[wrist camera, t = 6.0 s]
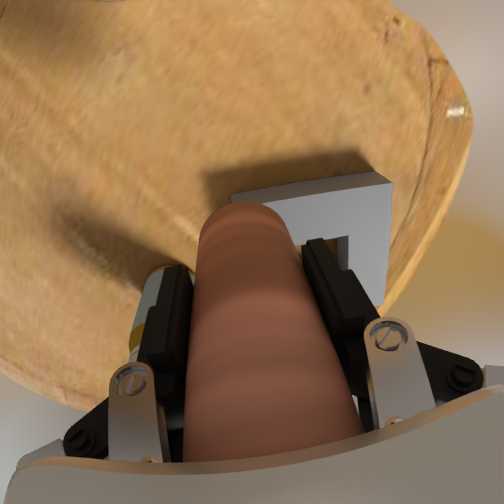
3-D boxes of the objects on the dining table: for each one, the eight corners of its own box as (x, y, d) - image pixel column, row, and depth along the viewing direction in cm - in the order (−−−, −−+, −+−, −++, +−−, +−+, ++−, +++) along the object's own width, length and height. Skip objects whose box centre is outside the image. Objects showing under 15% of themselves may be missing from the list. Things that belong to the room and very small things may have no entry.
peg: (188, 211, 13) (145, 561, 2) (283, 193, 12) (423, 524, 2) (210, 286, 15) (216, 561, 4) (292, 271, 15) (373, 537, 4)
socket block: (230, 194, 31) (231, 209, 27) (375, 171, 31) (392, 182, 27) (255, 310, 39) (258, 332, 36) (371, 285, 39) (382, 304, 36)
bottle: (143, 261, 34) (110, 362, 21) (202, 262, 35) (195, 368, 22) (150, 306, 38) (129, 406, 25) (203, 308, 38) (200, 410, 26)
